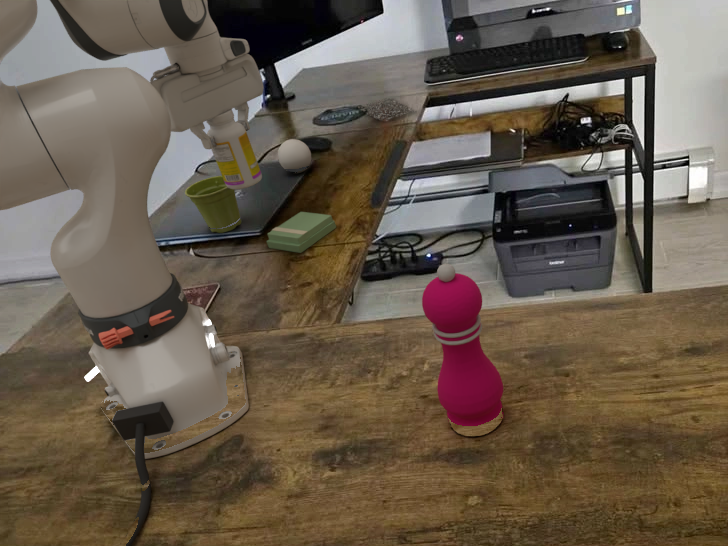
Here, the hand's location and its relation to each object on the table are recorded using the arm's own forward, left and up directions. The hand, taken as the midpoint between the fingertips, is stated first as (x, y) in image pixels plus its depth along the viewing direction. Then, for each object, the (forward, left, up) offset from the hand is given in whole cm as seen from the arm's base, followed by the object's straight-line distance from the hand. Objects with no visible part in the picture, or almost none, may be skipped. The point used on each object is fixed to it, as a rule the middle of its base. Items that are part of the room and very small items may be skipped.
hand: (228, 139), depth 118 cm
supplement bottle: (0, 0, -8) cm, 8 cm away
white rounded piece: (+27, -16, -18) cm, 36 cm away
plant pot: (+9, +5, -18) cm, 21 cm away
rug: (+50, -49, -18) cm, 72 cm away
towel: (-9, -5, -18) cm, 21 cm away
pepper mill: (-73, -4, -18) cm, 75 cm away
